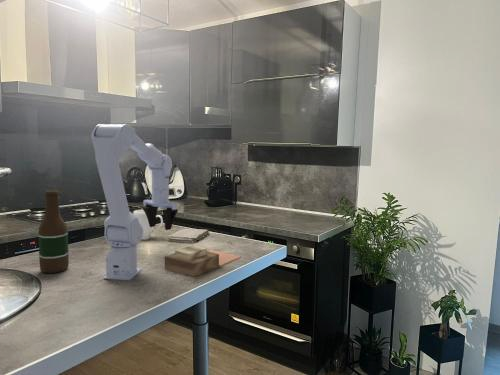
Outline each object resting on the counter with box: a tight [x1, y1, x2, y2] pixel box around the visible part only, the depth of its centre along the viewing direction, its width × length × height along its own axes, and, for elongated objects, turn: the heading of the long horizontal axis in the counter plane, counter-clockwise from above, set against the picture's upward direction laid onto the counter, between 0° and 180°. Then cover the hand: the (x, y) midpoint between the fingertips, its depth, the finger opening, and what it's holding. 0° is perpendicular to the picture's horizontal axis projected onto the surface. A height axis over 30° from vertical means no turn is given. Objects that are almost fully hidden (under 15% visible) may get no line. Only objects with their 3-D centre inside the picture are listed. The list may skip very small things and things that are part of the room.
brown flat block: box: [164, 251, 220, 278], centre depth 115 cm, size 12×12×4 cm
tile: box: [174, 244, 208, 261], centre depth 114 cm, size 8×6×2 cm
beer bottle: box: [37, 189, 70, 274], centre depth 109 cm, size 8×8×24 cm
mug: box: [133, 208, 164, 241], centre depth 149 cm, size 12×8×11 cm
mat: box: [207, 249, 242, 267], centre depth 125 cm, size 12×13×1 cm
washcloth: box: [167, 228, 210, 244], centre depth 153 cm, size 12×18×3 cm, turn 167°
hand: (160, 228), depth 126 cm, fingers open, 7 cm apart
